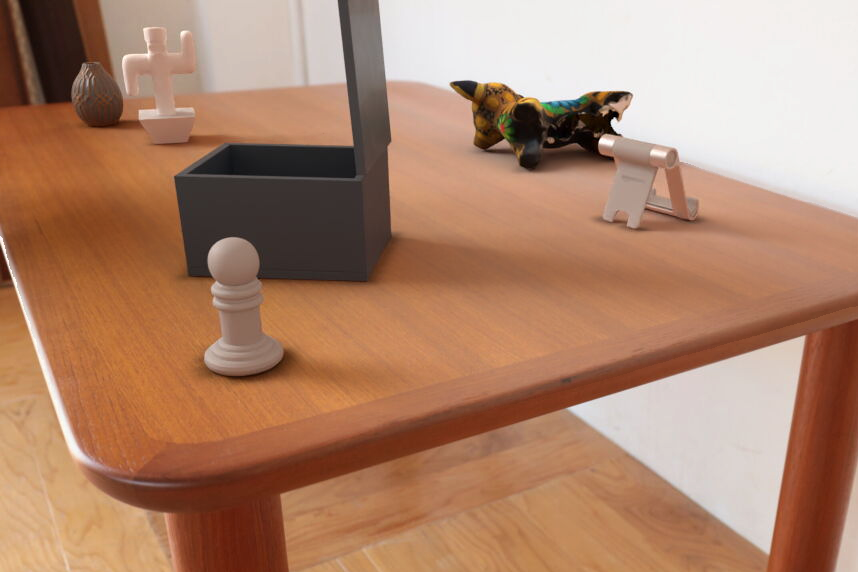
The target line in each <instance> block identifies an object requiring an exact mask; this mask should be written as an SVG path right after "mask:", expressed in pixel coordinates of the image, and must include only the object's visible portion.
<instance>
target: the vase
mask: <svg viewBox="0 0 858 572" xmlns="http://www.w3.org/2000/svg"><path fill="white" fill-rule="evenodd" d="M70 96H71V103H72V106H73V109H74V111H75V113H76V115H77V117H78V118H79V119H80V120H81V121H82V122H83V123H84V124H86V125H87V126H89V127H108V126H112V125H113V126H114V125H116V124H117V123H118V121H119V120H120V119H121V117H122V116H123V112H124V97H123V93H122V90H121V88H120V86H119V84H118V83H117V81H116V80H115V79H114V78H113V76H112V75H110V74H109V73H108V71H106V70H105V68H104V67H103V66H102V63H101V62H99V61H89V62H88V61H87V62H82V64H81V68H80V70H79V73H77V76H76V77H75V79H74V81H73V83H72V87H71V95H70Z"/></svg>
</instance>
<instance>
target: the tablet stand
mask: <svg viewBox="0 0 858 572" xmlns="http://www.w3.org/2000/svg"><path fill="white" fill-rule="evenodd" d="M598 149H599V152H600V153H601V154H600V155H602V156H605V155H607V156H611V157H614V158H613V160H614V165H615V167H616V172H615V176H614V179H613V182H612V185H611V188H610V192H609V195H608V198H607V200H606V204H605V207H604V211H603V213H602V219H603V220H604V221H606V222H610V223H613V222H614V220H615V218H616V216H617V214H618V213H619V212H622V213H624V214H627V215H628V219H627V223H626V227H627V228H630V229H634V230H637V229H638V228H639V227H640V225H641V223H642V219H643V216H644V213H645V210H646V209H647V210H650V211H654V212H657V213H663V214H666V215H670V216H674V217H677V218H678V219H682V220H687V221H688V220H689V221H694V220H695V219H696V218H697V216H698V215H699V211H700V199H699V198H696V197H692V196H688V195H686V188H685V183H684V177H683V174H682V173H683V172H682V167H681V162H680V157H679V152H678V150H677V148H675V147H671V146H667V145H662V144H656V143H651V142H647V141H642V140H638V139H633V138H628V137H624V136H623V137H619V136H615V135H610V134H604V135H603V136H602V137H601V138H600V140H599V144H598ZM659 168H660V169H663V170H664V174H665V179H666V182H667V188H668V194H669V198H667V197H664V196H660V195H658V194H657V188H656V187H653V186H654V183H655V180H656V177H657V173H658V171H659Z"/></svg>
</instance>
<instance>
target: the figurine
mask: <svg viewBox="0 0 858 572" xmlns="http://www.w3.org/2000/svg"><path fill="white" fill-rule="evenodd" d="M142 30H143V37H144V42H146V47H147V53H129V54H125V55H124V56H123V57H122V62H121V68H122V73H123V80H124V86H125V91H126V94H127V96H129V97H137V96H138V95H139V94H140V88H139V81H138V79H139V77H140V76H151V81H152V86H153V93H154V100H155V108H151V109H150V108H149V109H138V121H139V122H140V125H141V126H142V127H143V129H144V130H145V132H146V134H147V135H148V137H149V138H150V140H151V141H152V143H153V144H154V145H164V144H179V143H181V144H182V143H189V139H190V136H191V133H192V130H193V127H194V123H195V120H196V113H195V108H194V107H176V103H175V95H174V87H173V81H172V75H188V74H193V73H194V72H195V71H196V69H197V58H196V49H195V42H194V41H195V40H194V35H193V33H192V32H191V31H190V30H182V31H181V32H180V37H179V38H180V45H181V47H180V48H181V51H180V52H169V51H168V46H167V41H168V35H167V29H166V27H162V26H160V27H159V26H155V27H144V28H143V29H142Z"/></svg>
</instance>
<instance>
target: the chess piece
mask: <svg viewBox="0 0 858 572" xmlns="http://www.w3.org/2000/svg"><path fill="white" fill-rule="evenodd" d="M208 267H209V271H210V273H211V275H212V276H213V277H212V278H213V279H214V281H215V282H214V283H212V284H211V286H210V292H211V294H212V296H213V297H212V305H213V307H214V308H215V309H216V310H218V316H219V323H220V329H221V330H220V331H221V337H219V338H218V339H217V340H216V341H215V342H214V343H212V344H211V345H210V346H209V347H208V348H207V349H206V350H205V351H204V354H203V355H204V356H203V362H204V364H205V365H206V367H207V368H208V369H209V370H210V371H212V372H214V373H216V374H218V375H222V376H227V377H245V376H246V377H247V376H251V375H252V376H253V375H257V374H260V373H263V372H266V371H268V370H271V369H273V368H274V367H276V365H278V364H279V363H280V362H281V360H282V359H283V358H284V351H285V350H284V348H283V345H282V343H281V342H280V341H279V340H277V339H276V338H275V337H272V336H270V335H268V334H266V333H264V332H263V326H262V317H261V316H262V315H261V305H262V304H263V302H264V299H265V297H264V295H263V294H264V293H262V292H261V291H262V290H263V283H262V281H261V280H259V278H257V277H256V275H257V273H258V270H259V256H258V253H257V251H256V249H255V248H254V246H253V245H252V244H251V243H249V242H248V241H246V240H244V239H241V238H236V237H230V238H225V239H222V240H220V241H218V242H217V243H215V244H214V245H213V246H212V248H211V249H210V251H209V254H208Z"/></svg>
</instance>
